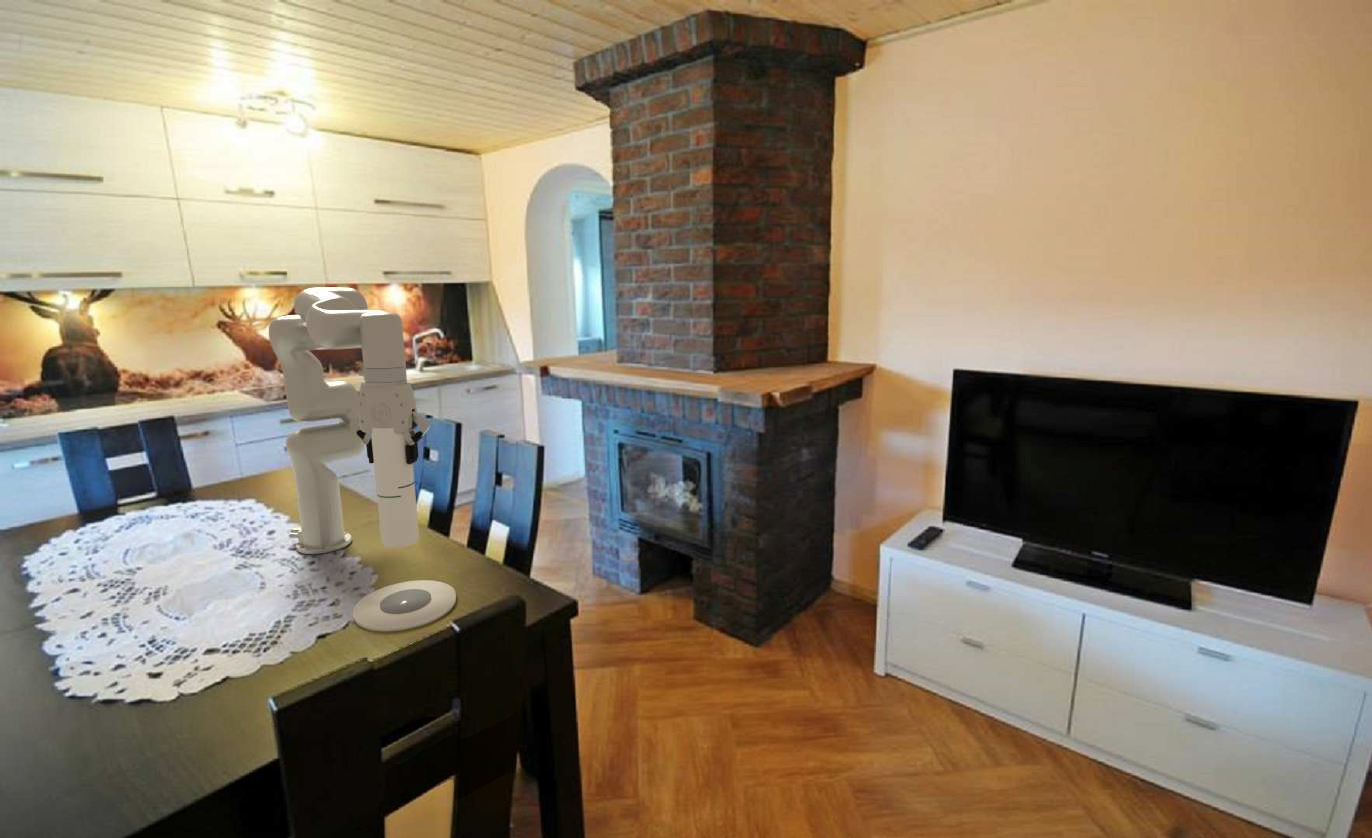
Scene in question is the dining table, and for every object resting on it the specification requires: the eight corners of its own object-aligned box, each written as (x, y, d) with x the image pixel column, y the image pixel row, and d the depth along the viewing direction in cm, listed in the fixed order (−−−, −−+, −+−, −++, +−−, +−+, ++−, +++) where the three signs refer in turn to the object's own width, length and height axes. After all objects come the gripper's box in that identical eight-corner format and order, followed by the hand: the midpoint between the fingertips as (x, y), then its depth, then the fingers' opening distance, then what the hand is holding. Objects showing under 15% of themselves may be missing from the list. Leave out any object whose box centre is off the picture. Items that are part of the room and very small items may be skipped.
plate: (332, 629, 123) (331, 622, 123) (385, 582, 143) (385, 576, 142) (430, 633, 122) (429, 627, 122) (470, 586, 142) (470, 580, 141)
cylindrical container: (425, 540, 130) (415, 424, 125) (390, 550, 125) (379, 430, 120) (410, 531, 135) (400, 419, 130) (376, 541, 130) (364, 424, 124)
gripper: (331, 377, 119) (341, 466, 123) (419, 379, 119) (426, 468, 122) (354, 372, 127) (362, 456, 130) (437, 374, 126) (443, 458, 130)
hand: (393, 461), depth 126 cm, fingers closed on cylindrical container, 7 cm apart
